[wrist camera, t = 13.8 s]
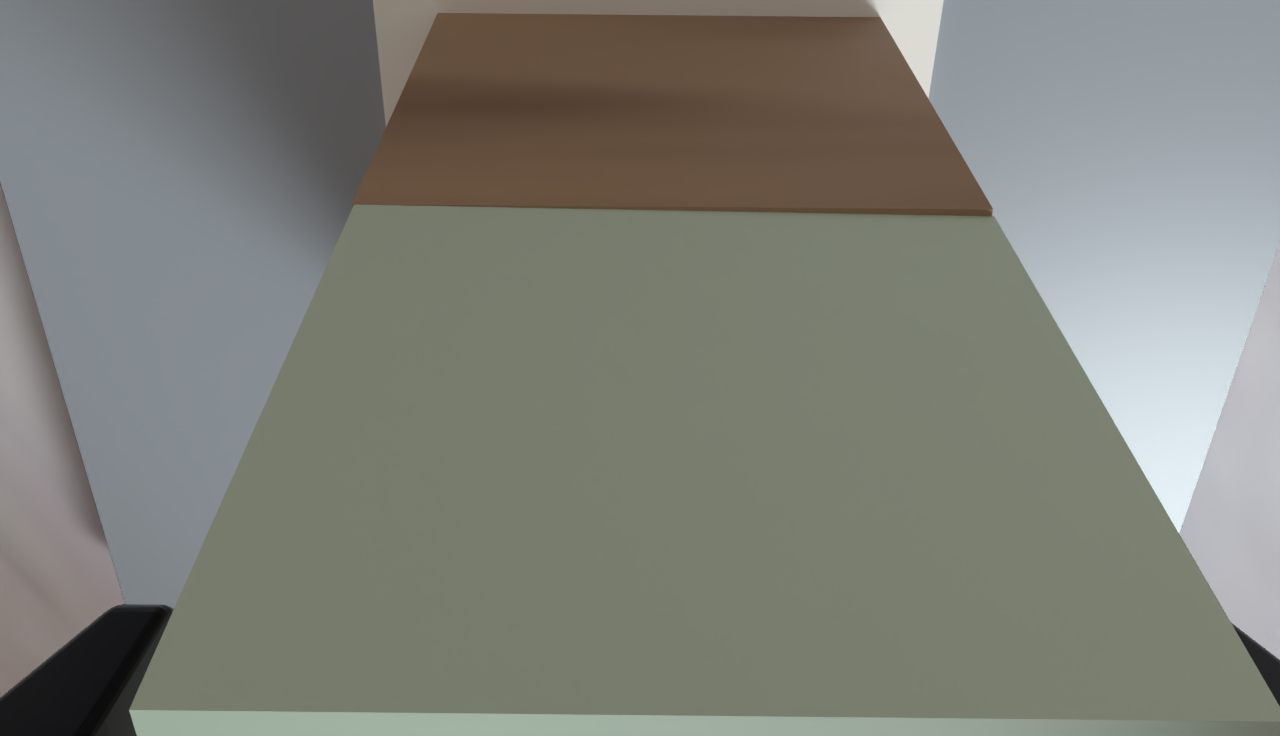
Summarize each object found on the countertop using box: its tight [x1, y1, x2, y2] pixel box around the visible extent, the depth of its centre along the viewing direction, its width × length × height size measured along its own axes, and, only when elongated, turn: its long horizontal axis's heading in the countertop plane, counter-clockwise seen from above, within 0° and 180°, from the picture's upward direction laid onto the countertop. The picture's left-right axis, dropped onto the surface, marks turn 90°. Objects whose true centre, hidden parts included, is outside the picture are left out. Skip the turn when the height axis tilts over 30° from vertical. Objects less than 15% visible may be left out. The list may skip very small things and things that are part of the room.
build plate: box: [0, 0, 1280, 609], centre depth 15 cm, size 14×16×1 cm
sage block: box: [129, 205, 1280, 736], centre depth 9 cm, size 5×5×5 cm
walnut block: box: [352, 13, 993, 216], centre depth 13 cm, size 5×5×5 cm
